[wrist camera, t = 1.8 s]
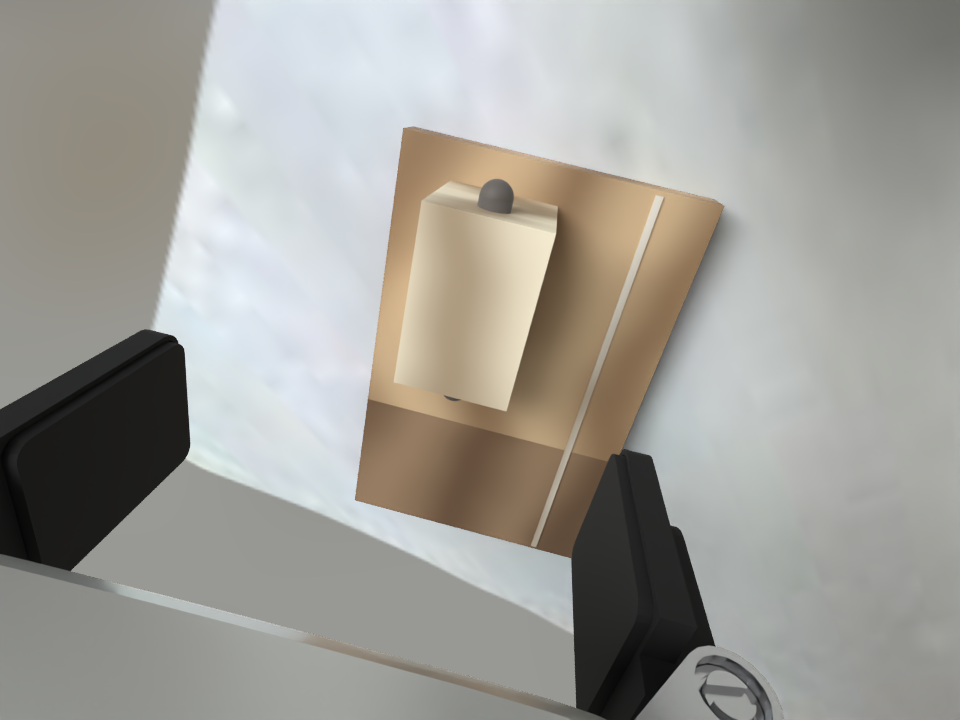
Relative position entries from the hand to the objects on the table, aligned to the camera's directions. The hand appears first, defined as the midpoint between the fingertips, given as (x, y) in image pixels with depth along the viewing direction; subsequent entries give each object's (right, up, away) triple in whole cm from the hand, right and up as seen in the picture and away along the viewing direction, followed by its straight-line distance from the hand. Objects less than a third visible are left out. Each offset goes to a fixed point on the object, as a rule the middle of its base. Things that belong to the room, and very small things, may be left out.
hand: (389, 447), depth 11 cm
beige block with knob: (+2, +6, +12) cm, 13 cm away
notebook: (+3, +2, +15) cm, 16 cm away
